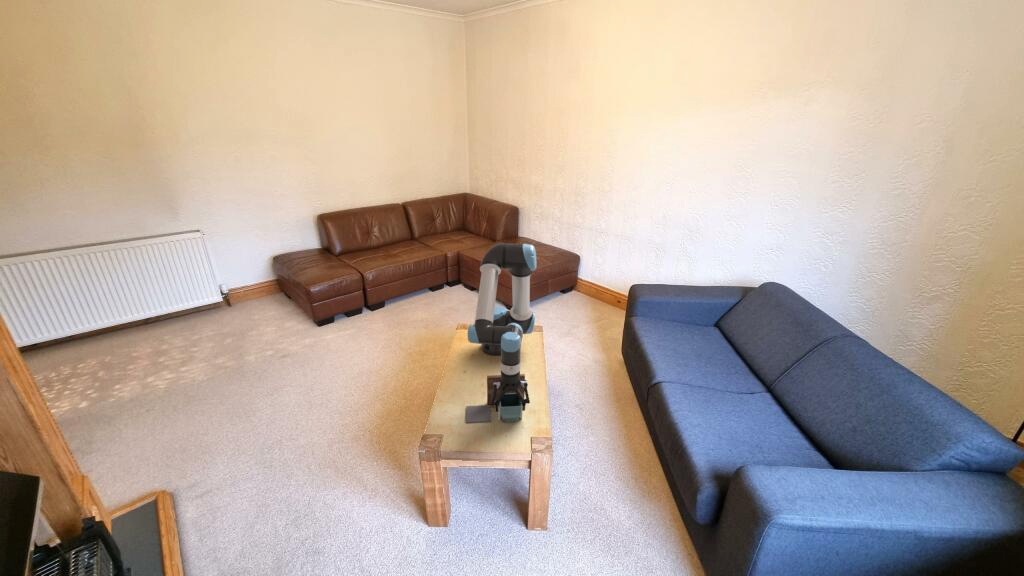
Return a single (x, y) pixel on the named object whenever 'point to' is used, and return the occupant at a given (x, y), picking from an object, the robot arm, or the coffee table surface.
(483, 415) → the mat
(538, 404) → the coffee table surface
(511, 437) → the coffee table surface
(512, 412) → the flower pot
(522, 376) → the screen
